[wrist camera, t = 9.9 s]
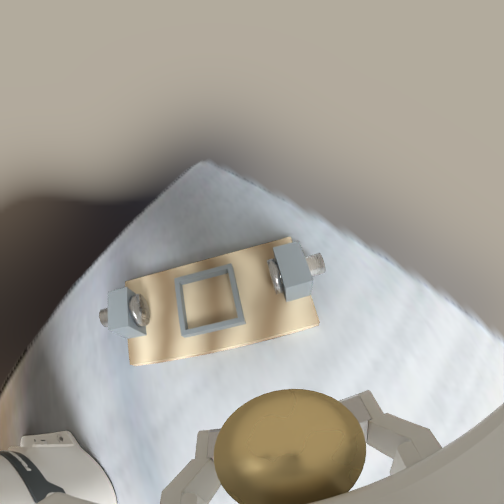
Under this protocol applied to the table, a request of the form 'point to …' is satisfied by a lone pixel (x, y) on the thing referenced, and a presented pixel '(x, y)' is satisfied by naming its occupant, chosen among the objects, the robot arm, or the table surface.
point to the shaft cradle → (216, 303)
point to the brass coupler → (289, 449)
